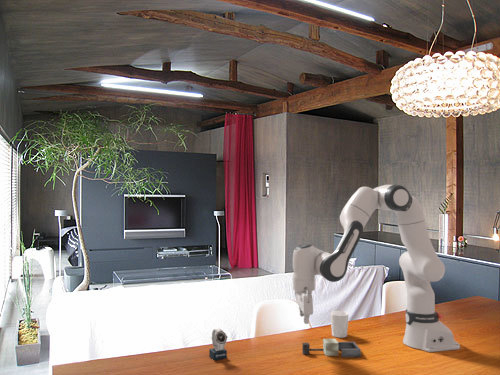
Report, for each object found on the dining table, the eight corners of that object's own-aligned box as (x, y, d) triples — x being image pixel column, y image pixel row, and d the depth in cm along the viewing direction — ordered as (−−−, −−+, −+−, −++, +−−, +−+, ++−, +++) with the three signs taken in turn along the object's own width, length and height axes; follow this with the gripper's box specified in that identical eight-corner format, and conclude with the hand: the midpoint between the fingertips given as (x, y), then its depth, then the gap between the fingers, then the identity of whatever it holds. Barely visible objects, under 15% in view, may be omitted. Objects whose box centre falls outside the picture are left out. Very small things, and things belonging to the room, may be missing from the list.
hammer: (335, 350, 177) (335, 338, 177) (338, 355, 172) (338, 343, 172) (301, 351, 176) (301, 339, 176) (303, 356, 171) (304, 343, 171)
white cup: (328, 336, 193) (329, 314, 193) (332, 331, 200) (332, 309, 200) (346, 339, 190) (346, 316, 190) (349, 333, 198) (349, 311, 198)
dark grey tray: (354, 348, 179) (354, 341, 179) (360, 357, 170) (360, 349, 170) (336, 349, 178) (336, 341, 178) (341, 357, 170) (341, 349, 170)
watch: (215, 362, 164) (215, 333, 164) (207, 355, 171) (207, 327, 171) (229, 360, 167) (229, 331, 167) (220, 352, 174) (220, 325, 174)
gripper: (316, 291, 163) (317, 327, 163) (307, 279, 184) (307, 312, 184) (300, 291, 163) (300, 328, 163) (292, 279, 183) (292, 312, 183)
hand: (304, 319), depth 173 cm, fingers open, 8 cm apart
